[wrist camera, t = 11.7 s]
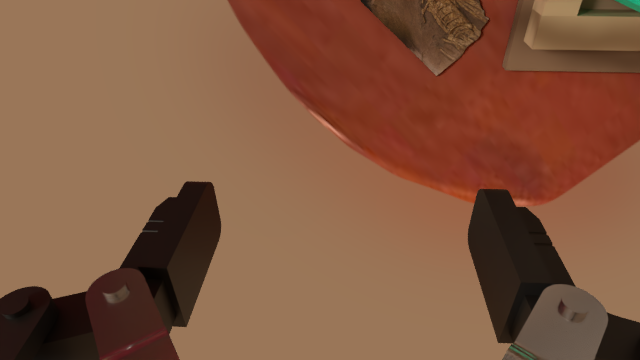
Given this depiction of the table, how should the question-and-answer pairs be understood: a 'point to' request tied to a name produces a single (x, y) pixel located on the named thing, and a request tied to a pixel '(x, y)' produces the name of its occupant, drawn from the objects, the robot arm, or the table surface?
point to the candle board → (564, 56)
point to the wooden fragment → (432, 27)
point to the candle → (631, 4)
